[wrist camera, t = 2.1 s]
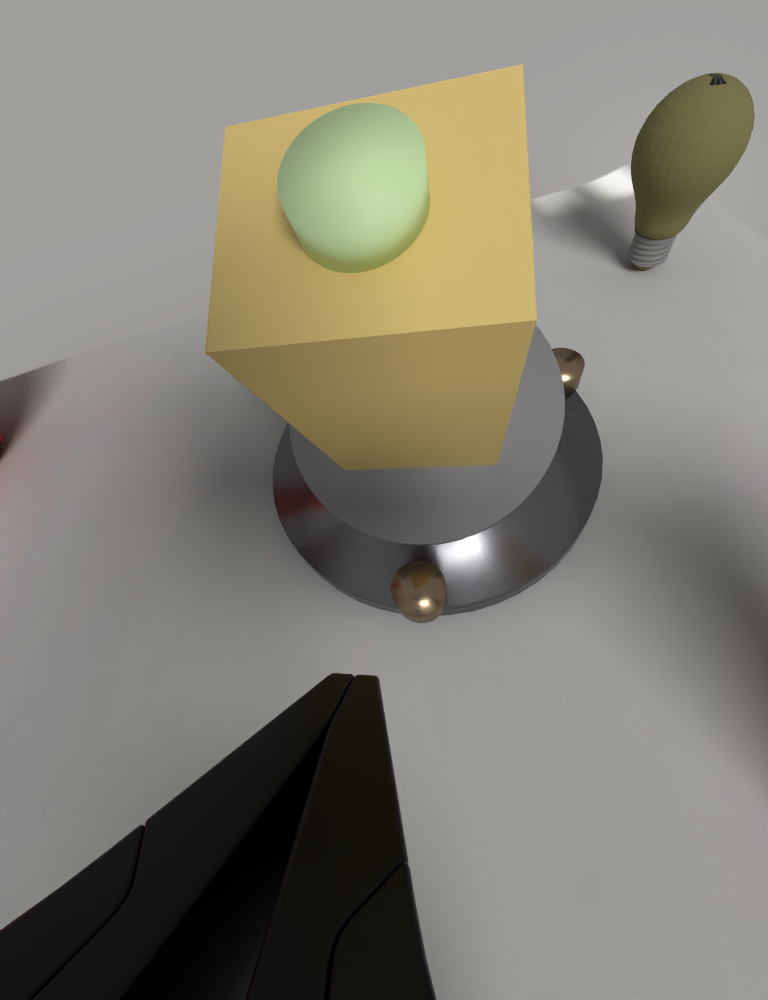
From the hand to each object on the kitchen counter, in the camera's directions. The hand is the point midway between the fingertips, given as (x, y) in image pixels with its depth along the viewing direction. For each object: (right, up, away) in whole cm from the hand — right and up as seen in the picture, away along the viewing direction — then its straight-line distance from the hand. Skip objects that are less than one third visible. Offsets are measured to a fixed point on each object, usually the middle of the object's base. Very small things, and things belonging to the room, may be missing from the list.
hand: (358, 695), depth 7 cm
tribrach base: (+3, +6, +17) cm, 19 cm away
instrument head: (+2, +8, +14) cm, 16 cm away
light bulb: (+19, +20, +23) cm, 36 cm away
